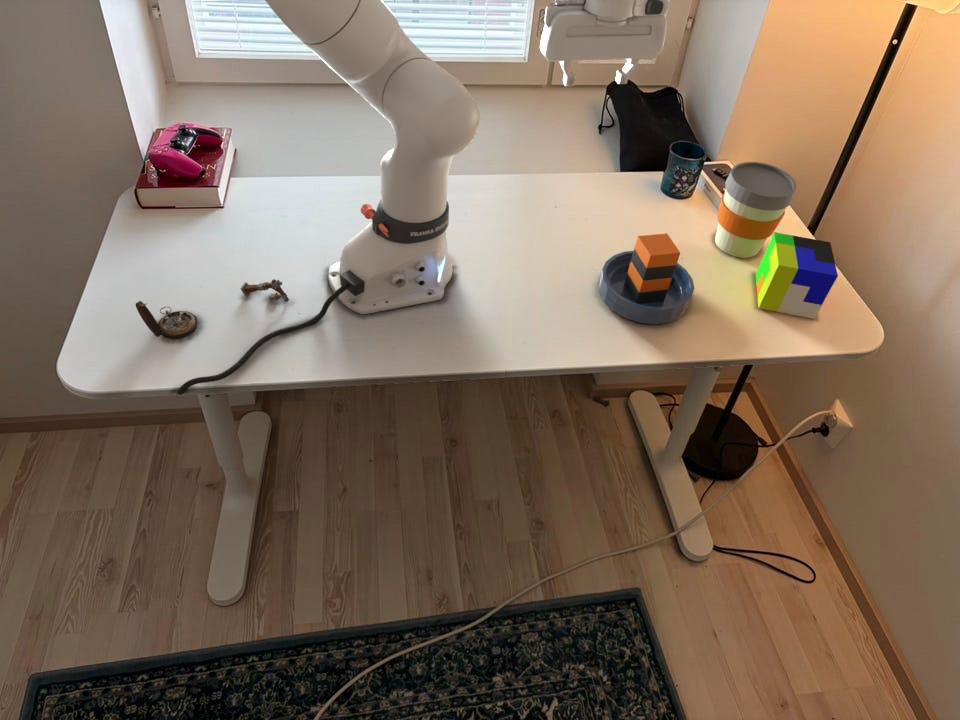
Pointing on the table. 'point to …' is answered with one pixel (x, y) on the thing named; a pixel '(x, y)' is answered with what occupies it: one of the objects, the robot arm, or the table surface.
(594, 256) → the table surface
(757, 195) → the reusable coffee cup
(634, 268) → the puzzle tower
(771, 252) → the puzzle toy
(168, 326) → the compass
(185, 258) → the table surface
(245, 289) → the gnarled brown twig
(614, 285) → the bowl
